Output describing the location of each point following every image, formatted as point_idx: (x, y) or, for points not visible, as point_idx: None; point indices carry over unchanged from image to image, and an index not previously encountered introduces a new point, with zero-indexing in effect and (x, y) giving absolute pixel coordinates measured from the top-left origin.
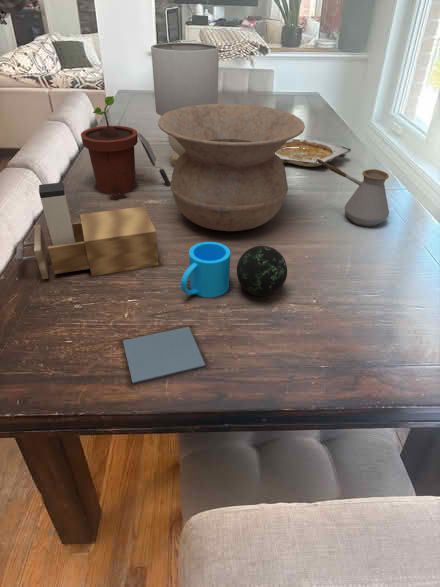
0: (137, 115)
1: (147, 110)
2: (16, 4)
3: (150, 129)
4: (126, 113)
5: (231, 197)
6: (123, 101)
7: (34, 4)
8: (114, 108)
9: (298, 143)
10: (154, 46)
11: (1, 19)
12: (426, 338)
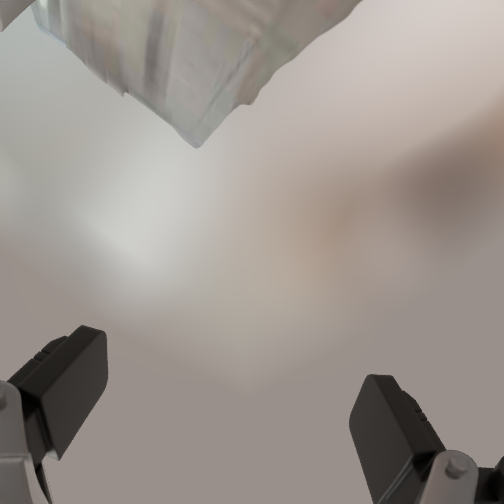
0: (198, 84)
1: (183, 88)
2: None
3: (193, 29)
4: (209, 99)
5: None
6: (204, 129)
7: (66, 354)
8: (219, 122)
9: None
10: (3, 19)
11: (462, 494)
12: None
